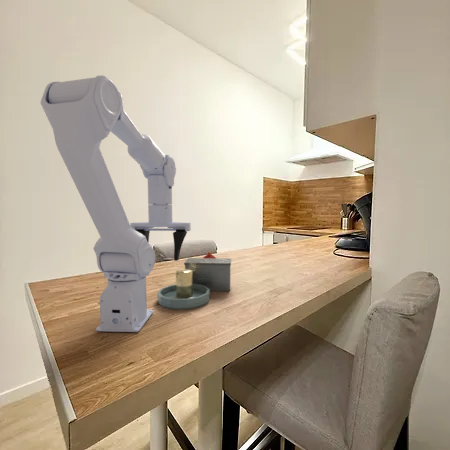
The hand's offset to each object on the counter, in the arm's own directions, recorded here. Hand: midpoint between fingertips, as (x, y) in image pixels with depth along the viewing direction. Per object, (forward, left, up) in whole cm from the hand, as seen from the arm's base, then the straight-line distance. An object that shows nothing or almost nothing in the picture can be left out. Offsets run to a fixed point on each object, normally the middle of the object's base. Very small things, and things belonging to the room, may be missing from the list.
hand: (161, 259), depth 68 cm
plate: (-2, -6, -9) cm, 11 cm away
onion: (+20, -10, -10) cm, 24 cm away
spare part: (-2, -6, -8) cm, 10 cm away
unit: (+8, -11, -9) cm, 17 cm away
